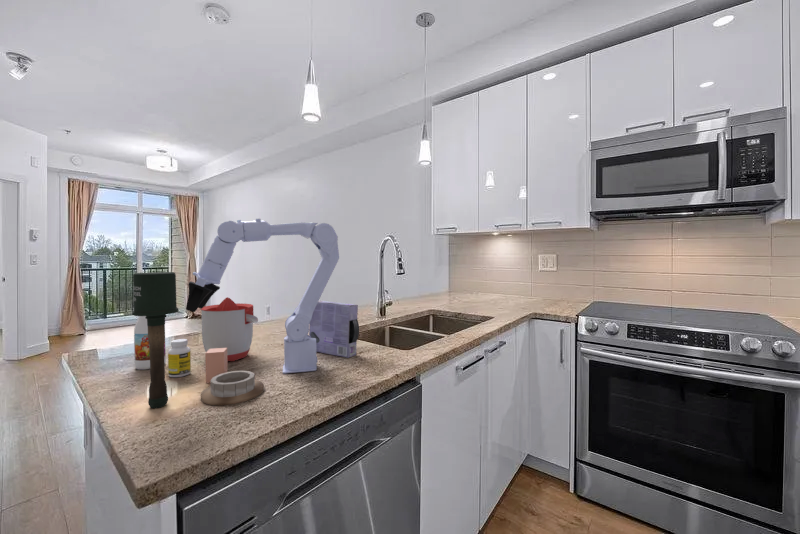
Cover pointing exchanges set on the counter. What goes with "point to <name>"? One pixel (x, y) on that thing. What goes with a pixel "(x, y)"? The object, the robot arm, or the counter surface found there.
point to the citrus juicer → (228, 328)
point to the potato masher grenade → (155, 324)
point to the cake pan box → (335, 328)
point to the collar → (232, 388)
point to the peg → (216, 362)
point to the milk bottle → (142, 345)
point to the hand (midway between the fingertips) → (194, 309)
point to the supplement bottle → (179, 358)
